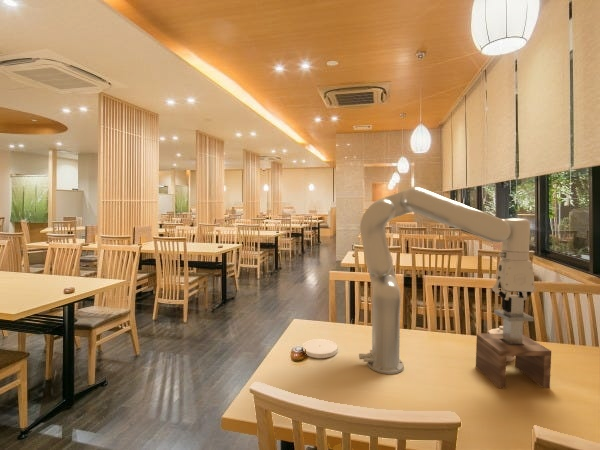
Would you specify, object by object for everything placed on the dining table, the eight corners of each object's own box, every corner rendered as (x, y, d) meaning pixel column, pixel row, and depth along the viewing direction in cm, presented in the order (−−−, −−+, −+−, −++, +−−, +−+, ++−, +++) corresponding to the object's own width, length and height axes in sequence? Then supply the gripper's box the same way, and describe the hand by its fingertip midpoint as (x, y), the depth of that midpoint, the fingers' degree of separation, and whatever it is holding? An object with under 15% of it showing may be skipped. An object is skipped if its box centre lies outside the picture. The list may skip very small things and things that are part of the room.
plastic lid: (336, 361, 125) (336, 355, 124) (299, 359, 127) (299, 352, 127) (338, 345, 138) (338, 339, 138) (305, 343, 141) (305, 337, 141)
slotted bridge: (498, 388, 106) (500, 351, 105) (475, 366, 120) (476, 333, 119) (549, 388, 106) (551, 351, 105) (520, 366, 120) (521, 333, 119)
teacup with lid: (518, 363, 122) (520, 332, 121) (490, 360, 124) (491, 329, 123) (508, 349, 133) (509, 321, 132) (483, 347, 136) (483, 318, 135)
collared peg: (507, 351, 108) (509, 299, 107) (493, 341, 116) (494, 293, 115) (532, 351, 108) (534, 299, 107) (516, 341, 116) (518, 292, 115)
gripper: (496, 258, 106) (494, 314, 107) (549, 257, 106) (546, 314, 107) (483, 254, 114) (481, 307, 115) (532, 254, 114) (530, 307, 115)
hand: (513, 310), depth 111 cm, fingers closed on collared peg, 4 cm apart
